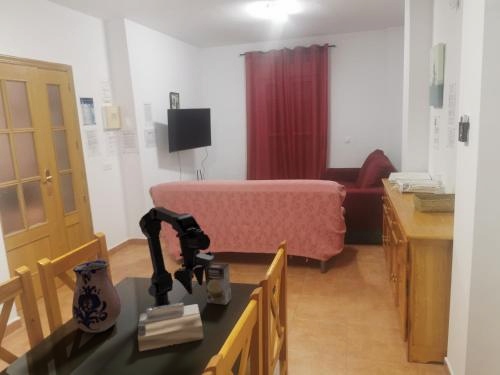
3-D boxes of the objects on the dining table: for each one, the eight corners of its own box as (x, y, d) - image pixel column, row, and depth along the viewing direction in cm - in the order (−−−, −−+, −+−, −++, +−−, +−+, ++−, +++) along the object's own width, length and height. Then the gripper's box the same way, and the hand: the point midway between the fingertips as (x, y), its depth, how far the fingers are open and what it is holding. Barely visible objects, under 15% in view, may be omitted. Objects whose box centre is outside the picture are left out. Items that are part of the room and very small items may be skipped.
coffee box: (206, 303, 164) (203, 267, 161) (212, 296, 170) (209, 262, 167) (226, 305, 161) (223, 268, 158) (232, 298, 167) (229, 263, 164)
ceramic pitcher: (69, 342, 141) (58, 277, 137) (84, 315, 161) (76, 258, 157) (118, 335, 143) (110, 271, 139) (127, 309, 164) (120, 253, 160)
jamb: (141, 325, 149) (140, 313, 148) (198, 315, 154) (197, 303, 153) (140, 336, 141) (139, 323, 140) (200, 325, 146) (199, 312, 145)
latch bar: (146, 319, 142) (145, 311, 142) (146, 315, 145) (145, 308, 145) (184, 312, 145) (183, 305, 145) (183, 309, 148) (183, 301, 148)
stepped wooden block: (140, 337, 141) (138, 315, 139) (200, 325, 145) (198, 304, 144) (139, 351, 131) (136, 328, 130) (203, 338, 136) (201, 316, 135)
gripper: (198, 253, 131) (206, 297, 132) (217, 240, 148) (224, 279, 149) (169, 256, 134) (177, 299, 135) (191, 243, 152) (198, 281, 153)
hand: (196, 289), depth 143 cm, fingers open, 9 cm apart
